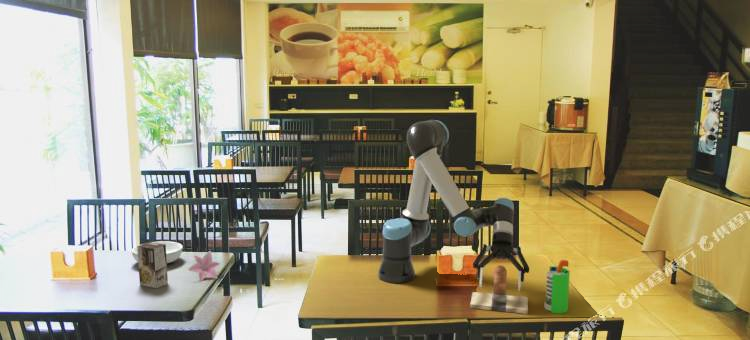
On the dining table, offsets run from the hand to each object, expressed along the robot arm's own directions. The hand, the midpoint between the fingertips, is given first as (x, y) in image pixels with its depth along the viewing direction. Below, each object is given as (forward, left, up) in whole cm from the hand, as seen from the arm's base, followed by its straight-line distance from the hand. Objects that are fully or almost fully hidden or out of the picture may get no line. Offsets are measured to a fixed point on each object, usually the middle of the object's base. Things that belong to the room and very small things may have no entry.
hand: (499, 287), depth 206 cm
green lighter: (+20, +4, -8) cm, 22 cm away
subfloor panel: (0, +2, -7) cm, 8 cm away
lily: (-118, 0, -8) cm, 118 cm away
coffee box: (-133, -12, -8) cm, 134 cm away
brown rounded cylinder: (0, +2, -6) cm, 6 cm away
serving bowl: (-147, +12, -8) cm, 148 cm away
